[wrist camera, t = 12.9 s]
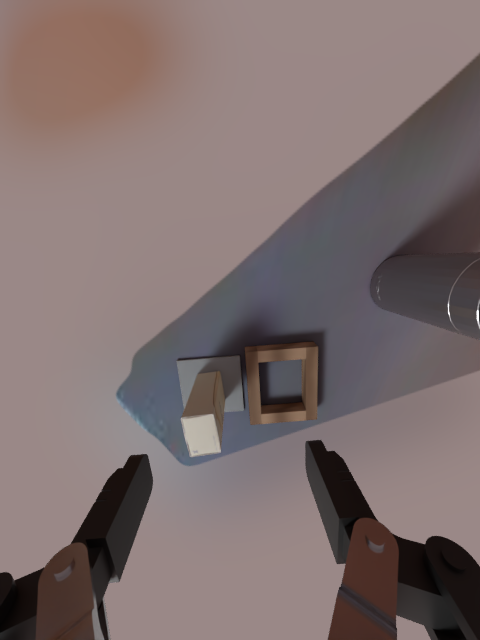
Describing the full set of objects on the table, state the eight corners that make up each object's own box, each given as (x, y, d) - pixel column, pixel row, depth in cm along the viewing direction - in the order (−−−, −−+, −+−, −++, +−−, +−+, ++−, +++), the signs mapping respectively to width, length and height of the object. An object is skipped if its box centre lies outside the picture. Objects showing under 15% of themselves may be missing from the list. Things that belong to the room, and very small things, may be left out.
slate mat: (239, 355, 40) (239, 356, 40) (243, 409, 43) (243, 410, 43) (177, 360, 40) (176, 361, 40) (185, 414, 43) (185, 415, 42)
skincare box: (225, 400, 42) (222, 454, 30) (201, 403, 42) (189, 459, 30) (220, 369, 40) (214, 413, 29) (195, 372, 40) (179, 418, 29)
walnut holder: (312, 341, 40) (318, 346, 38) (312, 410, 44) (316, 419, 41) (244, 346, 40) (245, 352, 37) (249, 415, 43) (250, 424, 41)
